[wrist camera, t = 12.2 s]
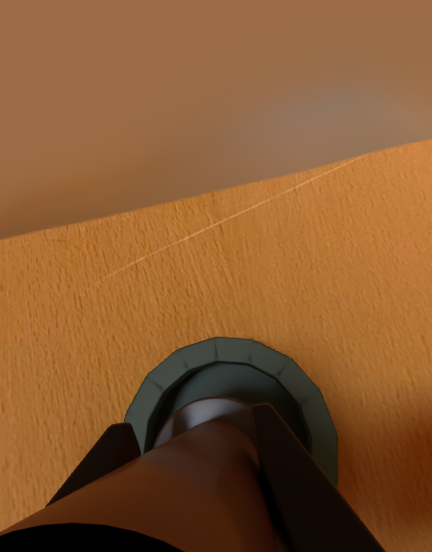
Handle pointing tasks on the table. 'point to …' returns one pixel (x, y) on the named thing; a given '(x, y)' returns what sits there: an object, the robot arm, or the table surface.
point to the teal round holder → (236, 392)
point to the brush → (167, 494)
